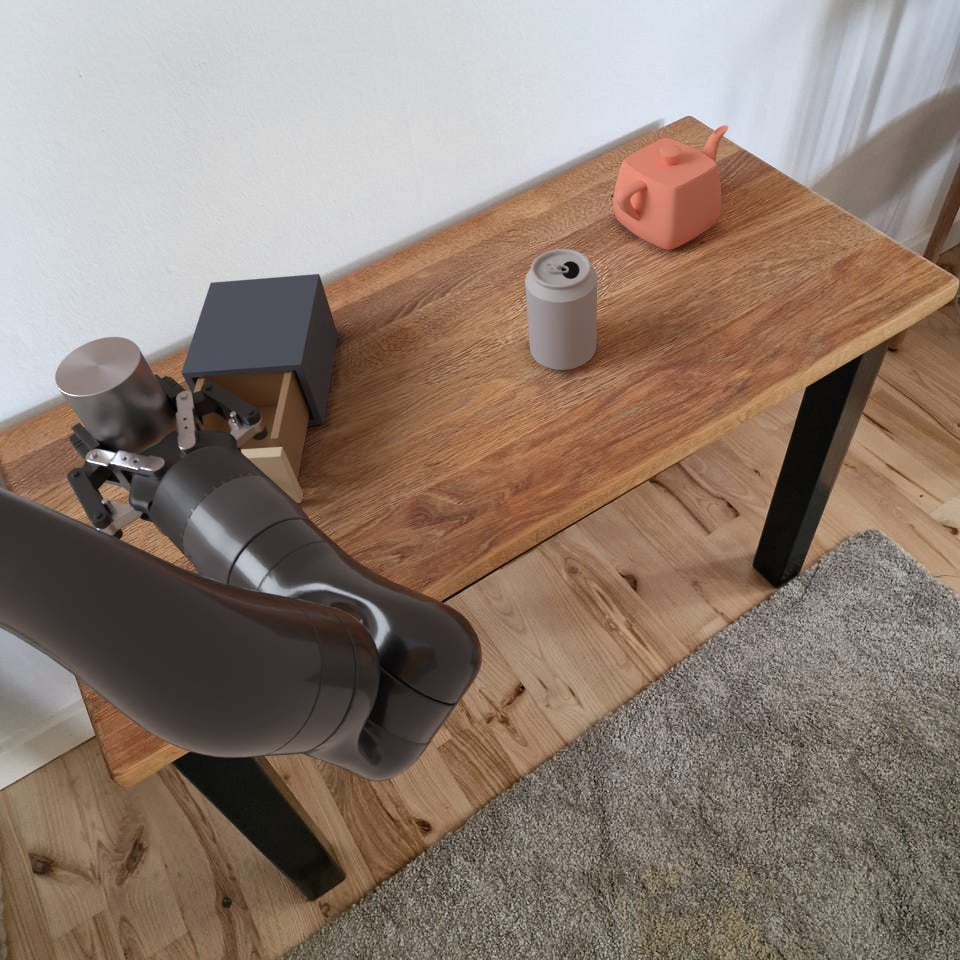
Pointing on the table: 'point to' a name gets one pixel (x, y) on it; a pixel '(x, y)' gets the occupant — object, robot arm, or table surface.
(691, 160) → the teapot
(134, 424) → the cylinder
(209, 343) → the cabinet
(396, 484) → the table surface
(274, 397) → the drawer
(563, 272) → the can
